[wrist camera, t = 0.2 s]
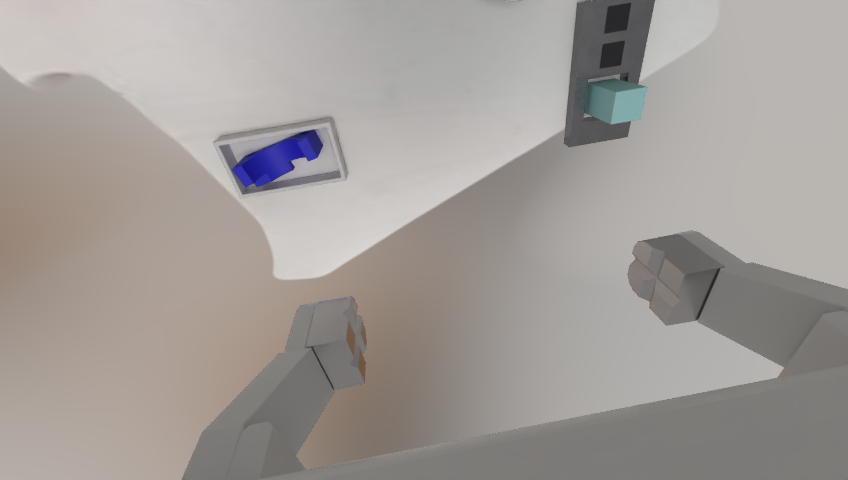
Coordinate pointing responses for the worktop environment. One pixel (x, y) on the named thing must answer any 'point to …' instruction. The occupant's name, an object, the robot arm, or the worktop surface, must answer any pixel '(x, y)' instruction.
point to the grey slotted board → (604, 60)
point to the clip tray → (246, 192)
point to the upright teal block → (614, 100)
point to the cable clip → (277, 158)
